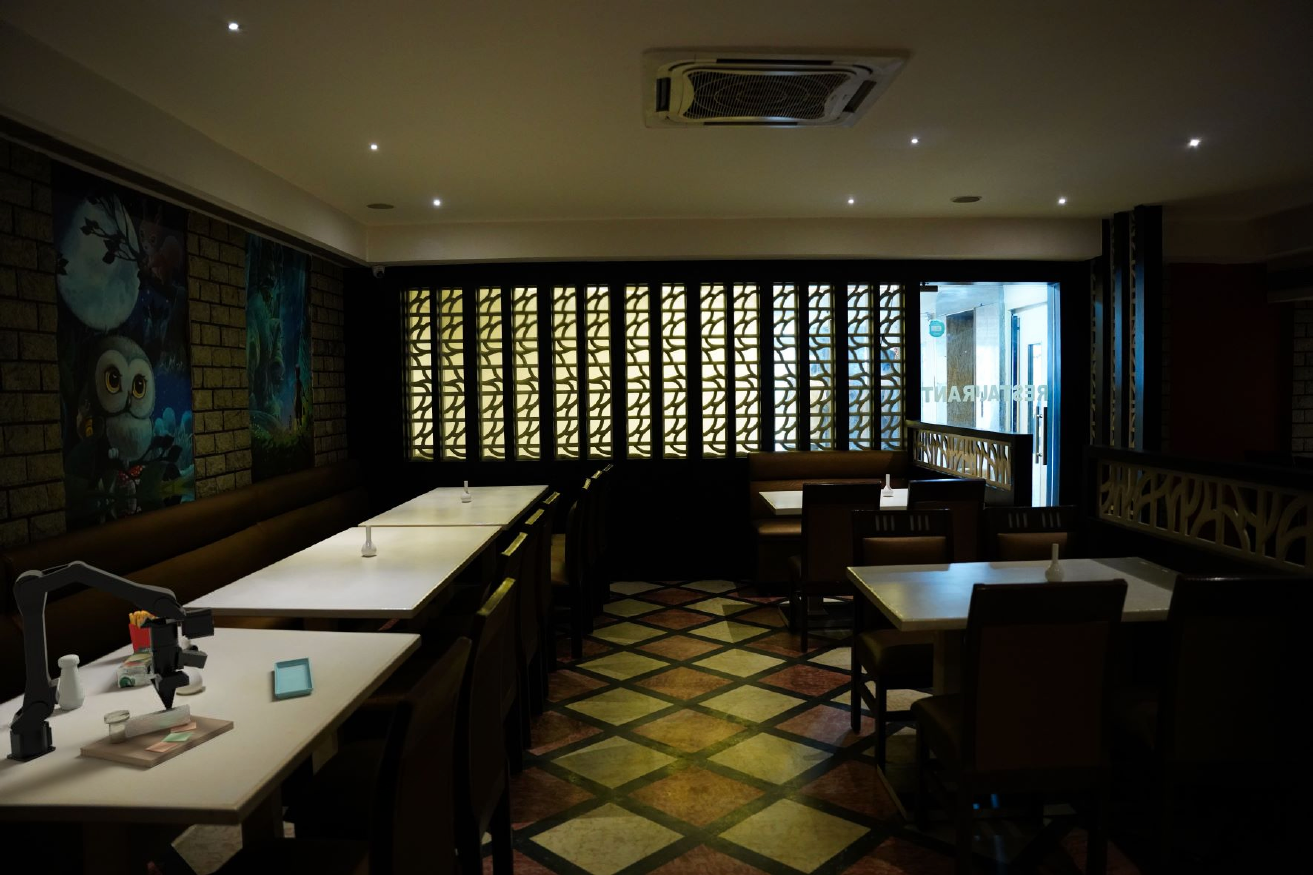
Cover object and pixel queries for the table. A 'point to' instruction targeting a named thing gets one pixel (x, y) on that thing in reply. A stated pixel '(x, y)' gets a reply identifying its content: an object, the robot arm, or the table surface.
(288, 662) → the rectangular tray
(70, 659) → the salt shaker
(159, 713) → the bar with metal cap
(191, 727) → the brown cutting board
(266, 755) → the table surface
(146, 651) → the juice carton
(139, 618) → the french fries
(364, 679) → the table surface
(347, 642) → the table surface
